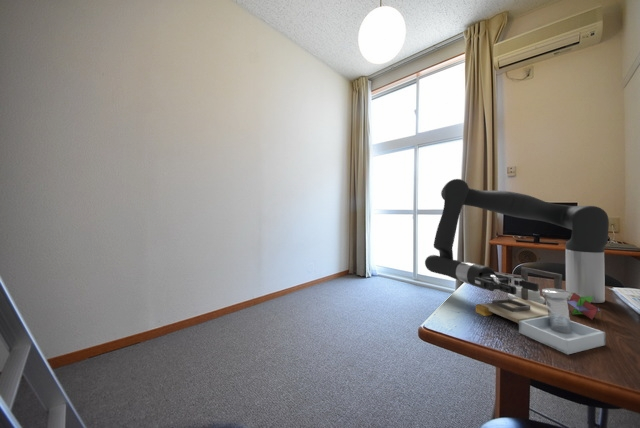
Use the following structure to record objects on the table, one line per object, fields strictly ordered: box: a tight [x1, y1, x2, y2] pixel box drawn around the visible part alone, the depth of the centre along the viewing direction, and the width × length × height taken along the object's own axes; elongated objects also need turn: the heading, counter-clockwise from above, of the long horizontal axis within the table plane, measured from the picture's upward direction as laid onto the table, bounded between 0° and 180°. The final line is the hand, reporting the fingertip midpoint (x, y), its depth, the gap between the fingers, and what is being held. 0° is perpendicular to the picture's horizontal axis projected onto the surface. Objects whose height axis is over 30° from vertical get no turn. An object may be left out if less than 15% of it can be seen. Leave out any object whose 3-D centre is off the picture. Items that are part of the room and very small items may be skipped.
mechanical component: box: [507, 287, 546, 305], centre depth 84 cm, size 10×4×10 cm
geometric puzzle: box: [567, 292, 602, 320], centre depth 70 cm, size 7×7×8 cm
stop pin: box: [541, 287, 572, 333], centre depth 61 cm, size 5×5×10 cm
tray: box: [518, 316, 606, 355], centre depth 58 cm, size 13×10×3 cm
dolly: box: [475, 266, 563, 325], centre depth 71 cm, size 20×12×13 cm, turn 105°
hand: (526, 289), depth 65 cm, fingers open, 8 cm apart
